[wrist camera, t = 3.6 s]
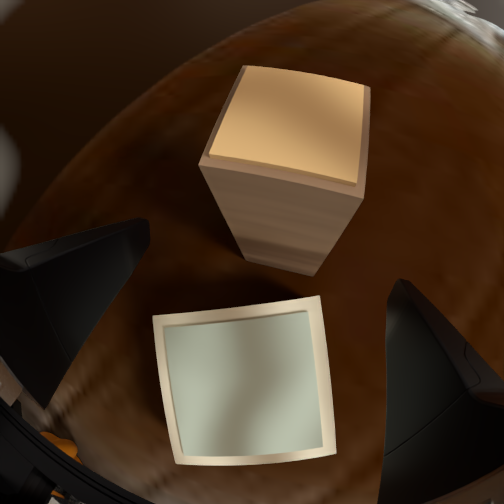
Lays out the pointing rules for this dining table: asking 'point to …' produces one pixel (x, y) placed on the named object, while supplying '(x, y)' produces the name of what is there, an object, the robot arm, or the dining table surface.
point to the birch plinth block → (246, 383)
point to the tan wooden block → (289, 164)
